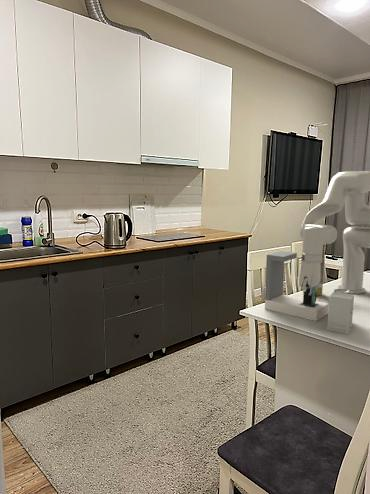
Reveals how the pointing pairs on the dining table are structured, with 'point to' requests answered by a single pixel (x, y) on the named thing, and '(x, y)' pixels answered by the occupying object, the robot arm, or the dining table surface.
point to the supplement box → (340, 312)
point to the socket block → (285, 302)
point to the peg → (312, 297)
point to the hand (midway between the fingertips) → (309, 302)
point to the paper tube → (320, 285)
